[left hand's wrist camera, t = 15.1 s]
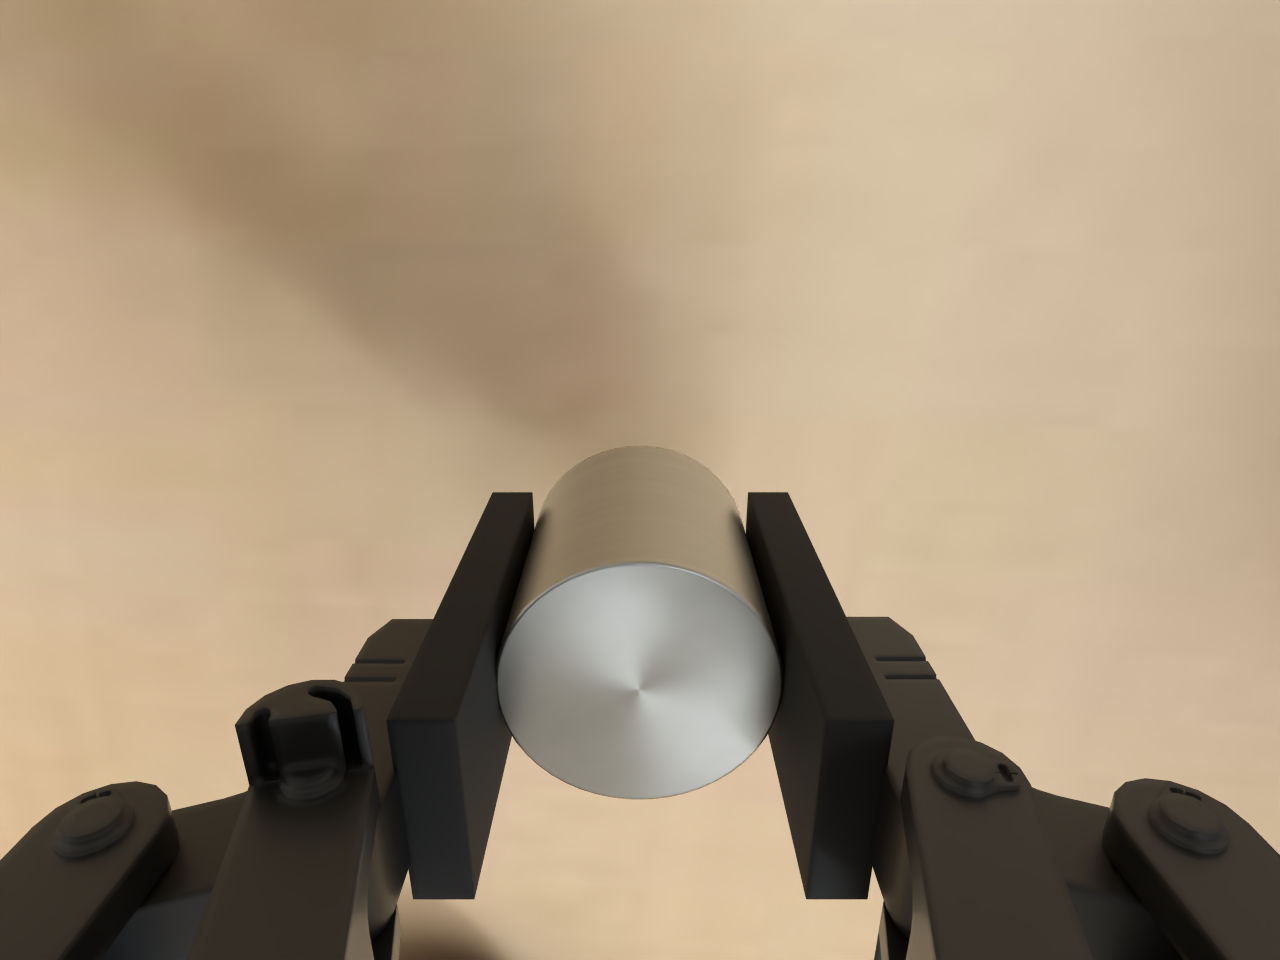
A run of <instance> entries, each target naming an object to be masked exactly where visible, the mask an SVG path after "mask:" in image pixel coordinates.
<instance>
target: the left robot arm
mask: <svg viewBox="0 0 1280 960" xmlns="http://www.w3.org/2000/svg"><path fill="white" fill-rule="evenodd" d="M533 533H534V512H533V495H532V492H493V493H492V495H491V497H490V499H489V501H488V504H487V506H486V508H485V510H484V512H483V514H482V516H481V519H480V521H479V523H478V525H477V527H476V529H475V531H474V533H473V536H472V538H471V540H470V542H469V544H468V546H467V548H466V551H465V553H464V555H463V557H462V559H461V561H460V563H459V566H458V568H457V570H456V572H455V574H454V576H453V578H452V580H451V583H450V585H449V587H448V589H447V591H446V593H445V595H444V598H443V600H442V602H441V604H440V606H439V608H438V610H437V613H436V615H435V617H434V619H392V620H391V621H389V622H388V623H387V624H385V625H384V626H383V627H382V628H380V629H379V630H378V631H376V632H375V633H374V634H372V635H371V636H370V637H369V638H368V639H367V641H366V642H365V644H364V646H363V647H362V649H361V651H360V652H359V654H358V656H357V657H356V659H355V664H352V666H351V668H350V669H349V671H348V673H347V674H346V676H345V681H344V682H340V681H337V680H310V681H306V682H301V683H297V684H292V685H288V686H286V687H283V688H281V689H279V690H276V691H274V692H272V693H270V694H267V695H265V696H264V697H262V698H261V699H260V700H258V701H257V702H256V703H254V704H253V705H251V706H250V707H249V708H247V709H246V710H245V712H244V713H243V714H242V716H241V717H240V719H239V720H238V721H237V723H236V724H235V728H236V732H237V736H238V740H239V744H240V748H241V752H242V757H243V761H244V765H245V769H246V773H247V777H248V781H249V785H250V786H249V788H248V791H246V792H244V793H241V794H237V795H234V796H231V797H228V798H224V799H220V800H216V801H211V802H207V803H203V804H199V805H194V806H190V807H186V808H181V809H177V810H173V811H171V807H170V804H169V800H168V797H167V795H166V794H165V793H164V792H163V791H162V790H161V789H159V788H158V787H157V786H156V785H152V784H147V783H142V782H137V781H135V782H126V783H117V784H110V785H107V786H104V787H101V788H98V789H95V790H92V791H89V792H86V793H83V794H81V795H79V796H78V797H76V798H74V799H72V800H70V801H68V802H66V803H65V804H63V805H61V806H59V807H57V808H56V809H54V810H53V811H52V812H51V813H49V814H48V815H47V816H46V817H45V818H43V819H42V820H41V821H40V822H38V823H37V824H36V825H35V826H33V827H32V828H31V829H30V830H29V832H28V833H27V834H26V835H25V836H24V837H23V838H22V839H21V840H20V841H19V842H18V843H17V844H16V845H15V846H14V847H13V848H12V849H11V850H10V851H9V852H8V853H7V854H6V855H5V856H4V857H3V858H2V859H1V860H0V960H399V951H400V940H401V928H400V921H399V914H398V908H397V901H398V898H399V895H400V892H401V889H402V886H403V883H404V880H405V877H406V874H407V871H408V869H409V875H410V882H411V888H412V895H413V899H474V898H475V894H476V890H477V885H478V881H479V877H480V872H481V868H482V863H483V859H484V855H485V850H486V846H487V842H488V837H489V833H490V829H491V824H492V820H493V816H494V811H495V807H496V802H497V798H498V794H499V789H500V785H501V781H502V776H503V772H504V768H505V763H506V759H507V755H508V750H509V746H510V742H511V737H512V735H511V733H510V731H509V730H508V728H507V726H506V724H505V721H504V719H503V717H502V715H501V712H500V708H499V704H498V699H497V688H496V663H497V658H498V653H499V649H500V646H501V642H502V639H503V635H504V632H505V629H506V625H507V622H508V618H509V615H510V612H511V608H512V605H513V601H514V598H515V595H516V591H517V588H518V584H519V581H520V578H521V574H522V571H523V567H524V564H525V561H526V557H527V554H528V550H529V547H530V544H531V540H532V537H533ZM746 537H747V541H748V544H749V548H750V551H751V555H752V558H753V561H754V565H755V568H756V572H757V575H758V579H759V582H760V586H761V589H762V593H763V596H764V599H765V603H766V606H767V610H768V613H769V617H770V620H771V624H772V627H773V630H774V634H775V637H776V641H777V644H778V648H779V652H780V655H781V659H782V665H783V676H784V680H783V694H782V698H781V703H780V708H779V710H778V713H777V715H776V718H775V721H774V723H773V725H772V727H771V729H770V731H769V732H768V735H769V739H770V744H771V748H772V752H773V757H774V761H775V765H776V770H777V774H778V779H779V783H780V787H781V792H782V796H783V800H784V805H785V809H786V813H787V818H788V822H789V826H790V831H791V835H792V840H793V844H794V848H795V853H796V857H797V861H798V866H799V870H800V874H801V879H802V883H803V887H804V892H805V896H806V899H867V898H868V892H869V885H870V878H871V872H872V866H873V869H874V872H875V875H876V878H877V881H878V884H879V887H880V890H881V893H882V896H883V899H884V902H883V908H882V914H881V920H880V927H879V933H878V939H877V945H876V951H875V957H874V960H1280V855H1279V854H1278V853H1277V852H1276V851H1275V850H1274V849H1273V848H1272V847H1271V846H1270V845H1269V844H1268V843H1267V842H1266V841H1265V840H1264V839H1263V838H1262V837H1261V836H1260V835H1259V834H1258V833H1257V831H1256V830H1255V829H1254V828H1253V827H1252V826H1251V825H1250V824H1249V823H1247V822H1246V821H1245V820H1244V819H1242V818H1241V817H1240V816H1239V815H1237V814H1236V813H1235V812H1234V811H1233V810H1231V809H1230V808H1229V807H1228V806H1226V805H1225V804H1223V803H1221V802H1219V801H1217V800H1215V799H1214V798H1212V797H1210V796H1208V795H1206V794H1204V793H1202V792H1201V791H1199V790H1196V789H1193V788H1190V787H1187V786H1184V785H1180V784H1177V783H1174V782H1171V781H1164V780H1155V779H1146V778H1144V779H1139V780H1134V781H1129V782H1125V783H1124V784H1123V785H1122V786H1121V787H1120V788H1119V789H1118V790H1117V791H1115V792H1114V796H1113V799H1112V803H1111V806H1110V808H1108V807H1104V806H1099V805H1095V804H1091V803H1086V802H1082V801H1078V800H1073V799H1069V798H1065V797H1061V796H1057V795H1053V794H1050V793H1047V792H1043V791H1040V790H1037V789H1035V788H1033V787H1031V784H1030V783H1029V781H1028V780H1027V778H1026V777H1025V775H1024V773H1023V772H1022V770H1021V769H1020V767H1018V766H1017V765H1016V764H1015V763H1014V762H1012V761H1011V760H1010V759H1009V758H1008V757H1006V756H1005V755H1004V754H1003V753H1001V752H999V751H997V750H995V749H993V748H991V747H989V746H987V745H985V744H983V743H981V742H977V741H975V739H974V737H973V736H972V734H971V732H970V731H969V729H968V727H967V726H966V724H965V722H964V721H963V719H962V717H961V716H960V714H959V712H958V711H957V709H956V707H955V706H954V704H953V702H952V701H951V699H950V697H949V695H948V694H947V692H946V690H945V689H944V687H943V685H942V684H941V682H940V680H939V679H936V674H935V672H934V670H933V669H932V667H931V665H930V664H929V662H928V661H926V657H925V655H924V653H923V652H922V650H921V648H920V647H919V645H918V643H917V642H916V640H915V638H914V637H913V635H911V634H910V633H909V632H908V631H906V630H905V629H904V628H902V627H901V626H900V625H898V624H897V623H896V622H894V621H893V620H892V619H891V618H889V617H846V616H845V614H844V611H843V609H842V607H841V605H840V603H839V601H838V599H837V596H836V594H835V592H834V590H833V588H832V586H831V584H830V581H829V579H828V577H827V575H826V573H825V571H824V569H823V567H822V564H821V562H820V560H819V558H818V556H817V554H816V552H815V549H814V547H813V545H812V543H811V541H810V539H809V537H808V534H807V532H806V530H805V528H804V526H803V524H802V522H801V520H800V517H799V515H798V513H797V511H796V509H795V507H794V505H793V502H792V500H791V498H790V496H789V494H788V492H748V504H747V521H746Z"/></svg>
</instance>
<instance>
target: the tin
mask: <svg viewBox="0 0 1280 960" xmlns="http://www.w3.org/2000/svg"><path fill="white" fill-rule="evenodd" d="M783 680H784V676H783V665H782V659H781V655H780V652H779V648H778V644H777V641H776V637H775V634H774V630H773V627H772V624H771V620H770V617H769V613H768V610H767V606H766V603H765V599H764V596H763V593H762V589H761V586H760V582H759V579H758V575H757V572H756V568H755V565H754V561H753V558H752V555H751V551H750V548H749V544H748V541H747V537H746V534H745V530H744V527H743V524H742V520H741V517H740V513H739V510H738V508H737V506H736V503H735V501H734V499H733V497H732V496H731V494H730V493H729V491H728V489H727V488H726V487H725V486H724V484H723V483H722V482H721V481H720V479H719V478H717V477H716V476H715V475H714V474H713V473H712V472H711V471H710V470H709V469H707V468H706V467H704V466H703V465H702V464H700V463H699V462H697V461H695V460H693V459H691V458H689V457H687V456H686V455H683V454H680V453H677V452H675V451H672V450H667V449H663V448H659V447H649V446H628V447H622V448H615V449H612V450H608V451H604V452H601V453H599V454H596V455H594V456H592V457H589V458H587V459H586V460H584V461H582V462H580V463H579V464H577V465H576V466H574V467H573V468H572V469H571V470H569V471H568V472H567V473H566V474H565V475H564V476H563V477H562V478H561V479H560V480H559V481H558V482H557V483H556V484H555V486H554V487H553V488H552V490H551V491H550V492H549V494H548V496H547V498H546V499H545V501H544V503H543V505H542V508H541V511H540V513H539V516H538V520H537V523H536V527H535V530H534V533H533V537H532V540H531V544H530V547H529V550H528V554H527V557H526V561H525V564H524V567H523V571H522V574H521V578H520V581H519V584H518V588H517V591H516V595H515V598H514V601H513V605H512V608H511V612H510V615H509V618H508V622H507V625H506V629H505V632H504V635H503V639H502V642H501V646H500V649H499V653H498V658H497V663H496V688H497V699H498V704H499V708H500V712H501V715H502V717H503V719H504V721H505V724H506V726H507V728H508V730H509V731H510V733H511V735H512V736H513V738H514V739H515V741H516V742H517V744H518V745H519V746H520V747H521V748H522V750H523V751H524V752H525V753H526V754H527V755H528V756H529V757H530V758H531V759H532V760H533V761H534V762H535V763H536V764H538V765H539V766H540V767H541V768H543V769H544V770H546V771H547V772H548V773H550V774H551V775H553V776H555V777H556V778H558V779H560V780H562V781H564V782H565V783H568V784H570V785H572V786H575V787H577V788H579V789H582V790H585V791H588V792H592V793H595V794H599V795H604V796H609V797H614V798H624V799H655V798H664V797H670V796H675V795H679V794H684V793H687V792H690V791H693V790H696V789H699V788H702V787H704V786H706V785H709V784H711V783H713V782H715V781H717V780H719V779H721V778H722V777H724V776H725V775H727V774H729V773H730V772H732V771H733V770H734V769H736V768H737V767H738V766H740V765H741V764H742V763H743V762H745V761H746V760H747V759H748V758H749V757H750V756H751V755H752V754H753V753H754V752H755V751H756V749H757V748H758V747H759V746H760V744H761V743H762V742H763V740H764V739H765V738H766V736H767V734H768V732H769V731H770V729H771V727H772V725H773V723H774V721H775V718H776V715H777V713H778V710H779V708H780V703H781V698H782V694H783Z"/></svg>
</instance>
